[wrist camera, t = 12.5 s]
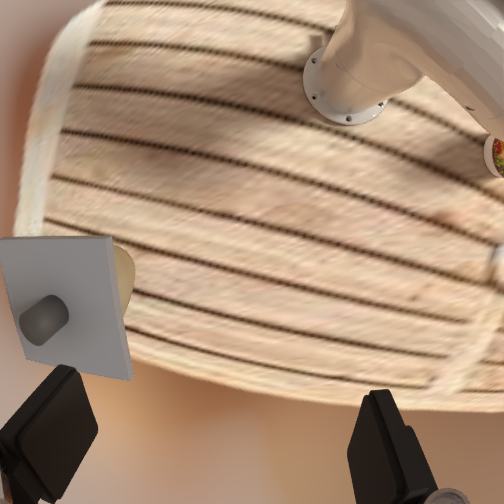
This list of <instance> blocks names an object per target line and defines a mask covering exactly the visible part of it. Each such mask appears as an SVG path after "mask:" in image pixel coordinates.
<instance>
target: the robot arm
mask: <svg viewBox="0 0 504 504" xmlns="http://www.w3.org/2000/svg"><path fill="white" fill-rule="evenodd" d="M312 61H314V62H315V64H314V63H312ZM425 75H426V76H427V77H429V78H430V79H431V80H433V81H435V82H436V83H437V84H438V85H439V86H441V87H442V88H443V89H444V90H445V91H446V92H447V93H448V94H449V95H450V96H452V97H453V98H454V99H455V100H456V101H457V102H458V103H459V104H460V105H461V106H462V107H463V108H464V109H465V110H466V111H467V112H468V113H469V114H470V115H471V116H472V117H473V118H474V119H475V120H476V121H477V122H478V123H479V124H480V125H481V126H482V127H483V128H484V129H485V130H486V131H487V132H488V133H490V134H491V135H492V136H494V137H495V138H497V139H499V140H501V141H503V142H504V0H346V7H345V11H344V13H343V16H342V18H341V20H340V22H339V24H338V25H336V26H335V32H334V34H333V36H332V38H331V40H330V42H329V44H327V45H325V46H323V47H321V48H319V49H318V50H316V51H315V52H314V53H313V54H312V55H311V56H310V58H309V59H308V61H307V63H306V65H305V68H304V72H303V87H304V91H305V94H306V96H307V98H308V100H309V102H310V103H311V105H312V106H313V107H314V108H315V109H316V110H317V111H318V112H319V113H320V114H321V115H323V116H324V117H325V118H327V119H329V120H331V121H333V122H336V123H339V124H343V125H359V124H363V123H366V122H369V121H371V120H372V119H374V118H376V117H377V116H378V115H379V114H380V113H381V112H382V111H383V110H384V108H385V107H386V104H387V102H388V99H389V98H391V97H393V96H395V95H397V94H399V93H401V92H403V91H405V90H407V89H409V88H411V87H413V86H414V85H416V84H417V83H418V82H420V81H421V80H422V79H423V77H424V76H425ZM312 97H315V98H316V99H315V100H313V99H312ZM378 104H380V106H379V105H378ZM346 118H348V119H349V121H346ZM97 433H98V425H97V422H96V420H95V417H94V414H93V412H92V408H91V406H90V403H89V400H88V397H87V394H86V391H85V388H84V385H83V381H82V378H81V375H80V373H79V372H77V370H76V368H75V367H71V366H67V365H63V364H59V365H58V366H57V367H56V368H55V369H54V370H53V371H52V372H51V373H50V374H49V375H48V376H47V378H46V379H45V380H44V381H43V382H42V383H41V384H40V385H39V386H38V387H37V389H36V390H35V391H34V392H33V393H32V394H31V395H30V396H29V397H28V399H27V400H26V401H25V402H24V403H23V404H22V405H21V407H20V408H19V409H18V410H17V411H16V412H15V414H14V415H13V416H12V417H11V418H10V419H9V420H8V422H7V423H6V424H5V425H4V427H3V428H2V429H1V430H0V504H38V501H39V500H40V498H41V499H42V500H44V501H46V502H48V503H51V504H55V502H56V500H57V499H61V497H62V496H63V494H64V492H65V491H66V489H67V487H68V485H69V483H70V481H71V479H72V478H73V476H74V474H75V472H76V471H77V469H78V467H79V465H80V463H81V462H82V460H83V458H84V456H85V455H86V453H87V451H88V449H89V448H90V446H91V444H92V442H93V441H94V439H95V437H96V435H97ZM347 457H348V462H349V468H350V473H351V478H352V483H353V489H354V494H355V499H356V504H470V502H469V500H468V498H467V497H466V496H465V495H464V494H463V493H462V492H460V491H458V490H456V489H451V488H444V489H440V490H438V487H437V485H436V482H435V480H434V477H433V475H432V472H431V470H430V467H429V465H428V463H427V460H426V458H425V455H424V453H423V451H422V448H421V446H420V444H419V441H418V439H417V437H416V434H415V432H414V430H413V429H412V427H411V426H409V425H408V426H405V424H404V422H403V419H402V417H401V415H400V413H399V410H398V408H397V406H396V403H395V401H394V399H393V397H392V394H391V392H390V391H389V390H388V389H382V390H371V391H370V393H369V395H365V396H364V398H363V401H362V404H361V408H360V411H359V415H358V418H357V421H356V424H355V428H354V431H353V434H352V437H351V440H350V443H349V446H348V450H347Z"/></svg>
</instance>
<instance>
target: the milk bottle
mask: <svg viewBox="0 0 504 504" xmlns="http://www.w3.org/2000/svg"><path fill="white" fill-rule="evenodd" d="M483 151H484V160H485V163H486V165H487V168H488V169H489V171H490V172H491V173H492V174H493V175H495V176H497V177H500V178H504V142H503V141H501V140H499V139H497V138H495V137H494V136H492V135H490V136H489V137H488V138H487V139H486V142H485V144H484V150H483Z"/></svg>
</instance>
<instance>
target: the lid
mask: <svg viewBox="0 0 504 504" xmlns="http://www.w3.org/2000/svg"><path fill="white" fill-rule="evenodd" d="M0 261H1V266H2V271H3V276H4V281H5V285H6V290H7V294H8V298H9V302H10V306H11V310H12V314H13V318H14V321H15V325H16V328H17V331H18V335H19V338H20V341H21V344H22V347H23V350H24V353H25V356H26V359H27V360H31V361H35V362H39V363H43V364H47V365H51V366H55V367H57V366H58V365H59V364H63V365H67V366H71V367H75V368H76V370H77V371H78V372H82V373H87V374H93V375H98V376H104V377H109V378H116V379H121V380H128V381H130V380H131V378H132V377H133V375H134V371H133V367H132V362H131V357H130V352H129V348H128V343H127V337H126V332H125V327H124V321H123V315H122V309H121V303H120V296H119V290H118V283H117V275H116V267H115V259H114V250H113V240H112V236H37V237H4V238H1V239H0Z"/></svg>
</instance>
